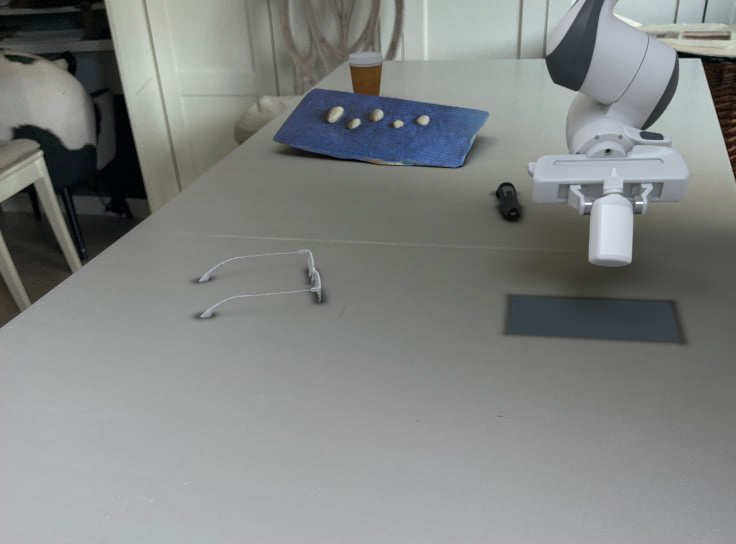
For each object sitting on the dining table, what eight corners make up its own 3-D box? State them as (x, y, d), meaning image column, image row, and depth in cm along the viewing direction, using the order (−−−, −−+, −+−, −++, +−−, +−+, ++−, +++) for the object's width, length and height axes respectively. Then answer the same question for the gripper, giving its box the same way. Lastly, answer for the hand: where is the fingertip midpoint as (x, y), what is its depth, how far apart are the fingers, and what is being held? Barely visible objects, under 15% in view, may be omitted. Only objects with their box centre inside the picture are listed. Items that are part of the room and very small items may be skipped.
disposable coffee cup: (347, 102, 221) (345, 52, 213) (382, 99, 221) (381, 50, 214) (351, 110, 213) (349, 59, 206) (386, 107, 214) (386, 56, 207)
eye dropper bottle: (635, 259, 102) (640, 162, 101) (590, 260, 103) (594, 163, 102) (628, 267, 107) (632, 173, 106) (585, 267, 107) (588, 175, 106)
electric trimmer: (501, 225, 143) (502, 207, 141) (494, 195, 155) (496, 178, 153) (522, 225, 143) (524, 206, 140) (514, 195, 154) (516, 178, 152)
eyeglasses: (324, 310, 118) (322, 284, 116) (200, 323, 116) (195, 297, 114) (311, 270, 130) (309, 245, 127) (198, 281, 128) (194, 257, 126)
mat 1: (492, 145, 190) (495, 96, 181) (459, 213, 176) (461, 165, 167) (317, 122, 202) (311, 76, 193) (273, 185, 188) (265, 138, 179)
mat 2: (669, 306, 114) (670, 302, 114) (679, 345, 105) (680, 341, 105) (511, 300, 118) (512, 296, 118) (508, 337, 109) (508, 333, 108)
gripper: (529, 138, 111) (533, 187, 102) (683, 134, 109) (701, 184, 100) (524, 182, 116) (528, 233, 107) (672, 179, 114) (688, 231, 105)
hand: (613, 209), depth 104 cm, fingers closed on eye dropper bottle, 5 cm apart
